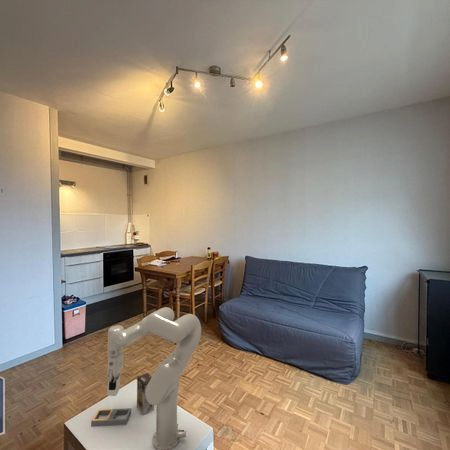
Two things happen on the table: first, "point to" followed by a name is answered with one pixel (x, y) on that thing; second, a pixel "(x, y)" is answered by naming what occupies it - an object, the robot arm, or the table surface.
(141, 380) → the coffee box
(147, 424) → the table surface
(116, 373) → the robot arm
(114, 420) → the frame with rectangular openings
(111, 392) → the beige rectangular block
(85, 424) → the table surface
